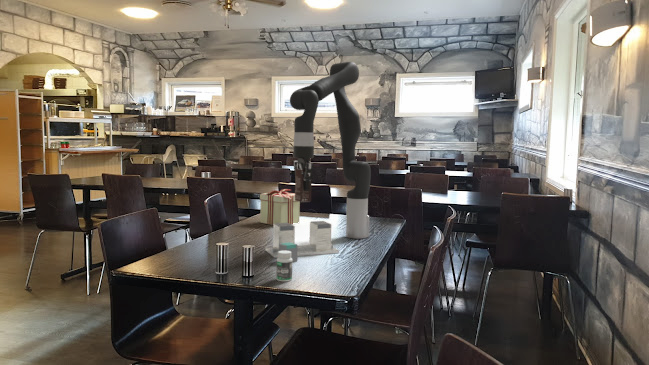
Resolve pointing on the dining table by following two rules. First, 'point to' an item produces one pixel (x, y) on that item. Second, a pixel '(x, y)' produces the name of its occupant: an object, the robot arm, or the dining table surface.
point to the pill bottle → (284, 266)
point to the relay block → (289, 249)
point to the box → (301, 188)
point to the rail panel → (318, 245)
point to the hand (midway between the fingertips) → (303, 190)
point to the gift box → (279, 207)
